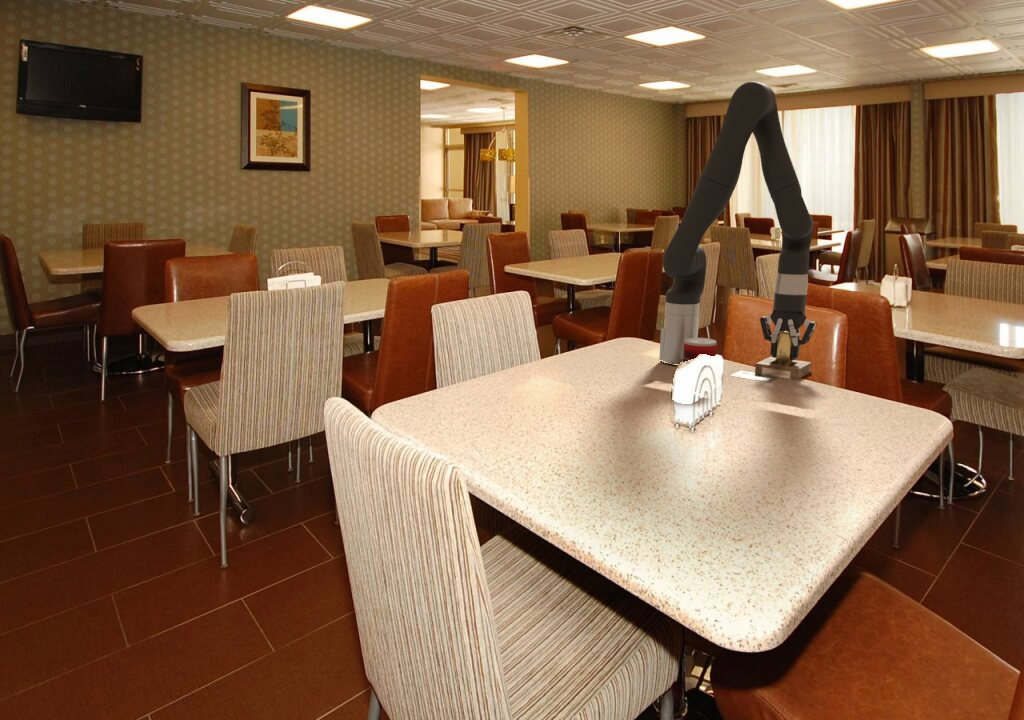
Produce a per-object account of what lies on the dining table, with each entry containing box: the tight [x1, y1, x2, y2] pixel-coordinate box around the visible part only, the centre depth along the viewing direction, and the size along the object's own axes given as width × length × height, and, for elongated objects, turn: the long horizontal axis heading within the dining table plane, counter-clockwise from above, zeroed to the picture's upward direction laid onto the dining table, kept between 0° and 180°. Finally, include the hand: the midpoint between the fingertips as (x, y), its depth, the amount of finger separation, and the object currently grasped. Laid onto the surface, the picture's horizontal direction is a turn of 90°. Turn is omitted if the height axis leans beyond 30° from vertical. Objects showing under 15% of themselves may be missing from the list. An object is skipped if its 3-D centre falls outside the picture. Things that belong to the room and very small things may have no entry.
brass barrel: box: [775, 331, 793, 366], centre depth 172 cm, size 4×4×10 cm
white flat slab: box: [729, 370, 780, 383], centre depth 169 cm, size 10×7×2 cm
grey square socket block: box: [754, 356, 812, 381], centre depth 173 cm, size 10×11×4 cm
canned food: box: [683, 337, 718, 362], centre depth 166 cm, size 8×8×11 cm
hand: (784, 358), depth 172 cm, fingers closed on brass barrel, 4 cm apart
